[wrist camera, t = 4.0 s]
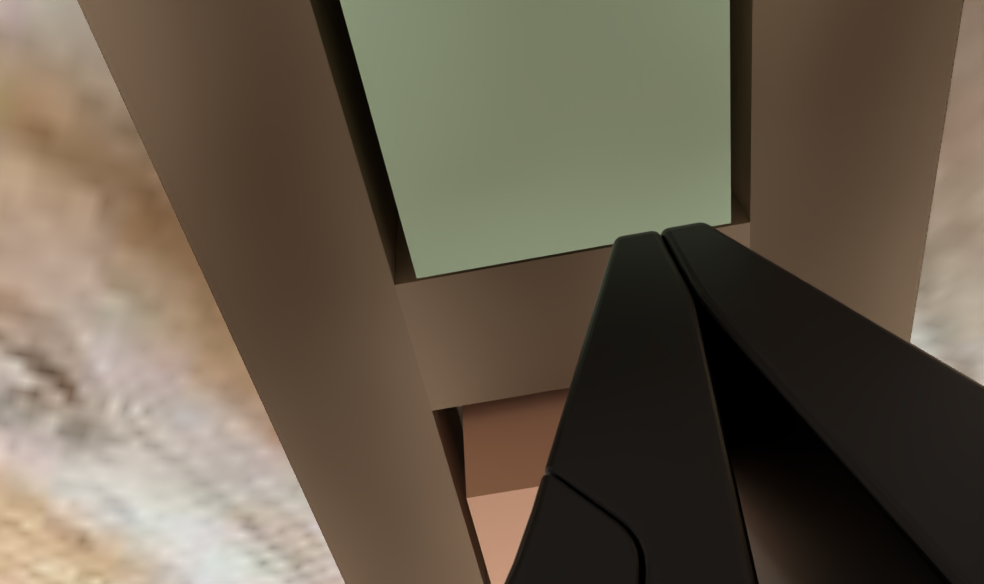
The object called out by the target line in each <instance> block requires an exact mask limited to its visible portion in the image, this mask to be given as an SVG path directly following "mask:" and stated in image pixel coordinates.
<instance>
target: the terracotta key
mask: <svg viewBox="0 0 984 584" xmlns="http://www.w3.org/2000/svg"><path fill="white" fill-rule="evenodd" d="M568 391H569V388H564V389H558V390H552V391H546V392H540V393H534V394H528V395H522V396H516V397H510V398H505V399H499V400H493V401H487V402H481V403H475V404H469V405H463V406H462V417H463V437H464V458H465V478H466V498H467V502H468V505H469V509H470V512H471V516H472V519H473V523H474V526H475V530H476V533H477V536H478V540H479V543H480V547H481V550H482V554H483V557H484V561H485V564H486V568H487V571H488V575H489V578H490V581H491V584H504V583H505V581H506V578H507V576H508V574H509V571H510V569H511V567H512V565H513V562H514V559H515V556H516V553H517V551H518V548H519V545H520V542H521V539H522V536H523V533H524V531H525V528H526V525H527V522H528V519H529V516H530V514H531V511H532V507H533V504H534V501H535V498H536V494H537V491H538V488H539V485H540V481H541V478H542V477H543V476H544V475H545V467H546V463H547V460H548V457H549V453H550V450H551V447H552V444H553V440H554V437H555V434H556V430H557V427H558V424H559V421H560V417H561V414H562V411H563V407H564V404H565V401H566V398H567V394H568Z"/></svg>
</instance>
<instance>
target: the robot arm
mask: <svg viewBox="0 0 984 584" xmlns="http://www.w3.org/2000/svg"><path fill="white" fill-rule="evenodd" d="M504 584H984V386H983V385H981V384H979V383H978V382H976V381H974V380H973V379H971V378H969V377H967V376H966V375H964V374H962V373H961V372H959V371H957V370H955V369H954V368H952V367H950V366H949V365H947V364H945V363H944V362H942V361H940V360H938V359H937V358H935V357H933V356H932V355H930V354H928V353H927V352H925V351H923V350H921V349H920V348H918V347H916V346H915V345H913V344H911V343H909V342H908V341H906V340H904V339H903V338H901V337H899V336H898V335H896V334H894V333H892V332H891V331H889V330H887V329H886V328H884V327H882V326H880V325H879V324H877V323H875V322H874V321H872V320H870V319H869V318H867V317H865V316H863V315H862V314H860V313H858V312H857V311H855V310H853V309H852V308H850V307H848V306H846V305H845V304H843V303H841V302H840V301H838V300H836V299H834V298H833V297H831V296H829V295H828V294H826V293H824V292H823V291H821V290H819V289H817V288H816V287H814V286H812V285H811V284H809V283H807V282H805V281H804V280H802V279H800V278H799V277H797V276H795V275H794V274H792V273H790V272H788V271H787V270H785V269H783V268H782V267H780V266H778V265H777V264H775V263H773V262H771V261H770V260H768V259H766V258H765V257H763V256H761V255H759V254H758V253H756V252H754V251H753V250H751V249H749V248H748V247H746V246H744V245H742V244H741V243H739V242H737V241H736V240H734V239H732V238H730V237H729V236H727V235H725V234H724V233H722V232H720V231H719V230H717V229H715V228H713V227H712V226H710V225H708V224H706V223H702V222H698V223H692V224H687V225H681V226H676V227H670V228H666V229H664V230H663V231H662V233H661V235H660V234H659V233H658V232H656V231H648V232H642V233H636V234H630V235H625V236H620V237H618V238H617V239H616V240H615V241H614V244H613V247H612V250H611V253H610V257H609V260H608V263H607V266H606V270H605V273H604V276H603V280H602V283H601V286H600V289H599V293H598V296H597V299H596V302H595V306H594V309H593V312H592V316H591V319H590V322H589V325H588V329H587V332H586V335H585V339H584V342H583V345H582V348H581V352H580V355H579V358H578V362H577V365H576V368H575V371H574V375H573V378H572V381H571V385H570V388H569V391H568V394H567V398H566V401H565V404H564V407H563V411H562V414H561V417H560V421H559V424H558V427H557V430H556V434H555V437H554V440H553V444H552V447H551V450H550V453H549V457H548V460H547V463H546V467H545V475H544V476H543V477H542V478H541V481H540V485H539V488H538V491H537V494H536V498H535V501H534V504H533V507H532V511H531V514H530V516H529V519H528V522H527V525H526V528H525V531H524V533H523V536H522V539H521V542H520V545H519V548H518V551H517V553H516V556H515V559H514V562H513V565H512V567H511V569H510V571H509V574H508V576H507V578H506V581H505V583H504Z"/></svg>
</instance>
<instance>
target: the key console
mask: <svg viewBox="0 0 984 584" xmlns="http://www.w3.org/2000/svg"><path fill="white" fill-rule="evenodd" d="M963 2H964V0H730V138H731V223H728V224H723V225H717V226H712V227H713V228H715V229H717V230H719V231H720V232H722V233H724V234H725V235H727V236H729V237H730V238H732V239H734V240H736V241H737V242H739V243H741V244H742V245H744V246H746V247H748V248H749V249H751V250H753V251H754V252H756V253H758V254H759V255H761V256H763V257H765V258H766V259H768V260H770V261H771V262H773V263H775V264H777V265H778V266H780V267H782V268H783V269H785V270H787V271H788V272H790V273H792V274H794V275H795V276H797V277H799V278H800V279H802V280H804V281H805V282H807V283H809V284H811V285H812V286H814V287H816V288H817V289H819V290H821V291H823V292H824V293H826V294H828V295H829V296H831V297H833V298H834V299H836V300H838V301H840V302H841V303H843V304H845V305H846V306H848V307H850V308H852V309H853V310H855V311H857V312H858V313H860V314H862V315H863V316H865V317H867V318H869V319H870V320H872V321H874V322H875V323H877V324H879V325H880V326H882V327H884V328H886V329H887V330H889V331H891V332H892V333H894V334H896V335H898V336H899V337H901V338H903V339H904V340H906V341H908V342H909V343H910V338H911V332H912V326H913V319H914V313H915V307H916V300H917V294H918V288H919V281H920V275H921V269H922V262H923V256H924V250H925V243H926V237H927V231H928V224H929V218H930V212H931V205H932V199H933V193H934V186H935V180H936V174H937V167H938V161H939V154H940V148H941V142H942V135H943V129H944V123H945V116H946V110H947V104H948V97H949V91H950V85H951V78H952V72H953V66H954V59H955V53H956V47H957V40H958V34H959V28H960V21H961V15H962V9H963ZM78 3H79V5H80V7H81V9H82V11H83V13H84V16H85V18H86V20H87V22H88V24H89V26H90V29H91V31H92V33H93V35H94V37H95V40H96V42H97V44H98V46H99V48H100V50H101V53H102V55H103V57H104V59H105V61H106V64H107V66H108V68H109V70H110V72H111V74H112V77H113V79H114V81H115V83H116V85H117V87H118V90H119V92H120V94H121V96H122V98H123V101H124V103H125V105H126V107H127V109H128V111H129V114H130V116H131V118H132V120H133V122H134V124H135V127H136V129H137V131H138V133H139V135H140V138H141V140H142V142H143V144H144V146H145V148H146V151H147V153H148V155H149V157H150V159H151V161H152V164H153V166H154V168H155V170H156V172H157V175H158V177H159V179H160V181H161V183H162V185H163V188H164V190H165V192H166V194H167V196H168V198H169V201H170V203H171V205H172V207H173V209H174V212H175V214H176V216H177V218H178V220H179V222H180V225H181V227H182V229H183V231H184V233H185V235H186V238H187V240H188V242H189V244H190V246H191V249H192V251H193V253H194V255H195V257H196V259H197V262H198V264H199V266H200V268H201V270H202V272H203V275H204V277H205V279H206V281H207V283H208V286H209V288H210V290H211V292H212V294H213V296H214V299H215V301H216V303H217V305H218V307H219V309H220V312H221V314H222V316H223V318H224V320H225V323H226V325H227V327H228V329H229V331H230V333H231V336H232V338H233V340H234V342H235V344H236V346H237V349H238V351H239V353H240V355H241V357H242V360H243V362H244V364H245V366H246V368H247V370H248V373H249V375H250V377H251V379H252V381H253V384H254V386H255V388H256V390H257V392H258V394H259V397H260V399H261V401H262V403H263V405H264V407H265V410H266V412H267V414H268V416H269V418H270V421H271V423H272V425H273V427H274V429H275V431H276V434H277V436H278V438H279V440H280V442H281V444H282V447H283V449H284V451H285V453H286V455H287V458H288V460H289V462H290V464H291V466H292V468H293V471H294V473H295V475H296V477H297V479H298V481H299V484H300V486H301V488H302V490H303V492H304V495H305V497H306V499H307V501H308V503H309V505H310V508H311V510H312V512H313V514H314V516H315V518H316V521H317V523H318V525H319V527H320V529H321V532H322V534H323V536H324V538H325V540H326V542H327V545H328V547H329V549H330V551H331V553H332V555H333V558H334V560H335V562H336V564H337V566H338V569H339V571H340V573H341V575H342V577H343V579H344V582H345V584H491V581H490V578H489V575H488V571H487V568H486V564H485V561H484V557H483V554H482V550H481V547H480V543H479V540H478V536H477V533H476V530H475V526H474V523H473V519H472V516H471V512H470V509H469V505H468V502H467V498H466V478H465V458H464V437H463V417H462V406H463V405H469V404H475V403H481V402H487V401H493V400H499V399H505V398H510V397H516V396H522V395H528V394H534V393H540V392H546V391H552V390H558V389H564V388H570V385H571V381H572V378H573V375H574V371H575V368H576V365H577V362H578V358H579V355H580V352H581V348H582V345H583V342H584V339H585V335H586V332H587V329H588V325H589V322H590V319H591V316H592V312H593V309H594V306H595V302H596V299H597V296H598V293H599V289H600V286H601V283H602V280H603V276H604V273H605V270H606V266H607V263H608V260H609V257H610V253H611V250H612V247H613V244H609V245H604V246H598V247H592V248H587V249H581V250H575V251H570V252H564V253H558V254H553V255H547V256H541V257H536V258H530V259H524V260H519V261H513V262H508V263H502V264H496V265H491V266H485V267H479V268H474V269H468V270H462V271H457V272H451V273H445V274H440V275H434V276H428V277H423V278H416V274H415V270H414V267H413V263H412V259H411V256H410V252H409V249H408V245H407V241H406V238H405V234H404V231H403V227H402V223H401V220H400V216H399V213H398V209H397V205H396V202H395V198H394V194H393V191H392V187H391V184H390V180H389V176H388V173H387V169H386V166H385V162H384V158H383V155H382V151H381V147H380V144H379V140H378V137H377V133H376V129H375V126H374V122H373V119H372V115H371V111H370V108H369V104H368V101H367V97H366V93H365V90H364V86H363V82H362V79H361V75H360V72H359V68H358V64H357V61H356V57H355V54H354V50H353V46H352V43H351V39H350V35H349V32H348V28H347V25H346V21H345V17H344V14H343V10H342V7H341V3H340V0H78Z"/></svg>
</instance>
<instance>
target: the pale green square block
mask: <svg viewBox="0 0 984 584" xmlns="http://www.w3.org/2000/svg"><path fill="white" fill-rule="evenodd" d="M340 3H341V7H342V10H343V14H344V17H345V21H346V25H347V28H348V32H349V35H350V39H351V43H352V46H353V50H354V54H355V57H356V61H357V64H358V68H359V72H360V75H361V79H362V82H363V86H364V90H365V93H366V97H367V101H368V104H369V108H370V111H371V115H372V119H373V122H374V126H375V129H376V133H377V137H378V140H379V144H380V147H381V151H382V155H383V158H384V162H385V166H386V169H387V173H388V176H389V180H390V184H391V187H392V191H393V194H394V198H395V202H396V205H397V209H398V213H399V216H400V220H401V223H402V227H403V231H404V234H405V238H406V241H407V245H408V249H409V252H410V256H411V259H412V263H413V267H414V270H415V274H416V278H423V277H428V276H434V275H440V274H445V273H451V272H457V271H462V270H468V269H474V268H479V267H485V266H491V265H496V264H502V263H508V262H513V261H519V260H524V259H530V258H536V257H541V256H547V255H553V254H558V253H564V252H570V251H575V250H581V249H587V248H592V247H598V246H604V245H609V244H614V241H615V240H616V239H617V238H618V237H620V236H625V235H630V234H636V233H642V232H648V231H656V232H658V233H659V234H660V235H661V233H662V231H663V230H664V229H666V228H670V227H676V226H681V225H687V224H692V223H698V222H702V223H706V224H708V225H710V226H717V225H723V224H728V223H731V138H730V0H340Z"/></svg>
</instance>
